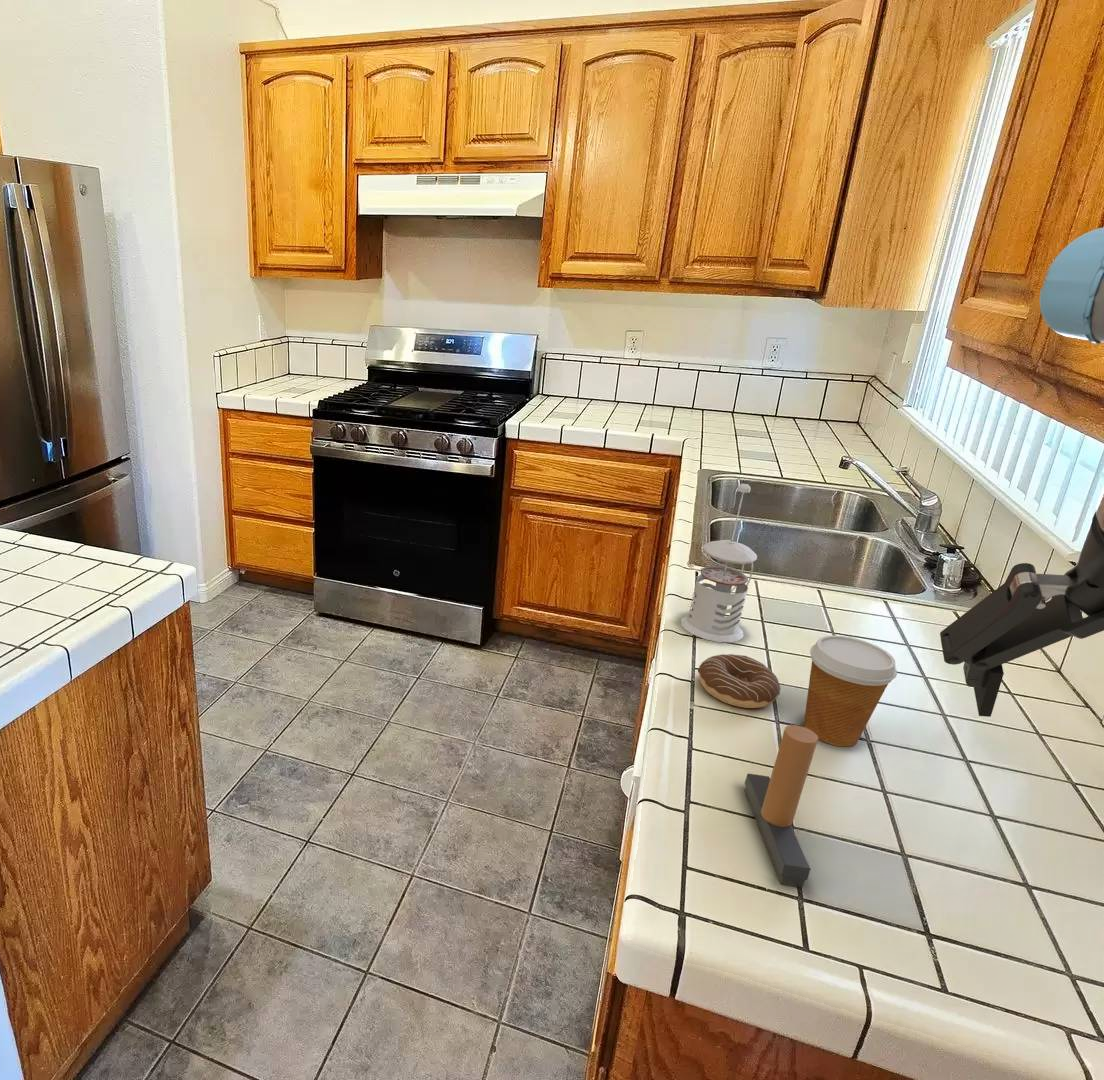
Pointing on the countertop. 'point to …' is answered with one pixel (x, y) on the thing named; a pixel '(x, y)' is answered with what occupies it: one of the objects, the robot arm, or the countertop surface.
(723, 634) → the french press
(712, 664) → the donut
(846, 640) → the disposable coffee cup
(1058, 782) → the countertop surface
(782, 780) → the squeegee
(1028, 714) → the countertop surface
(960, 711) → the countertop surface
